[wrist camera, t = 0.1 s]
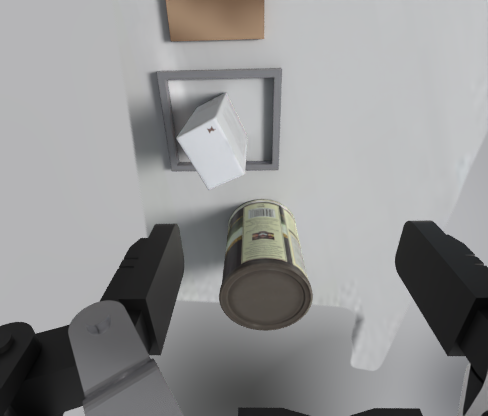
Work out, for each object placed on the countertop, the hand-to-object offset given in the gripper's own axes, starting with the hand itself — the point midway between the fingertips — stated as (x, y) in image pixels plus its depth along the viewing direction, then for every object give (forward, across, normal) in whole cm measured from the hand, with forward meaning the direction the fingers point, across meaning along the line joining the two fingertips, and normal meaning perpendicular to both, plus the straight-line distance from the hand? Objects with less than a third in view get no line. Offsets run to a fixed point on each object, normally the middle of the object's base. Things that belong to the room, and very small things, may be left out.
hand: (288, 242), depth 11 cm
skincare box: (+30, +5, +3) cm, 30 cm away
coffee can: (+29, 0, +19) cm, 35 cm away
